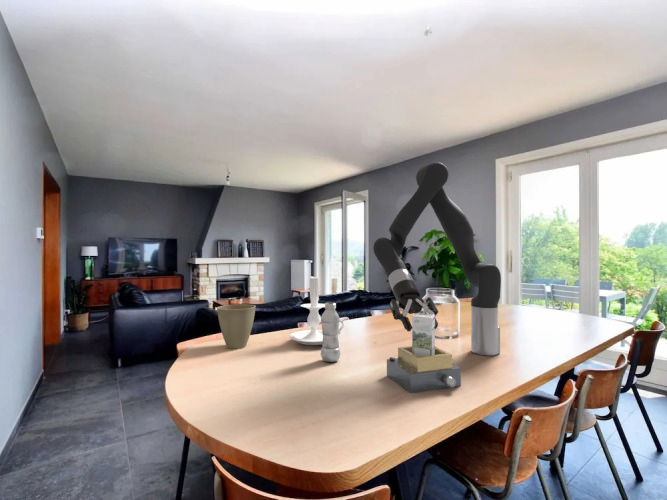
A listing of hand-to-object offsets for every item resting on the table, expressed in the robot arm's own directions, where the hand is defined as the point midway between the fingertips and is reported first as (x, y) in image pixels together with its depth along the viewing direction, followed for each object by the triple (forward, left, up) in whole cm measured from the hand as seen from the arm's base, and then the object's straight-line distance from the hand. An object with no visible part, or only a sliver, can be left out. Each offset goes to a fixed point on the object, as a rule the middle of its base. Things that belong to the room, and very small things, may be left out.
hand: (423, 328), depth 103 cm
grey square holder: (0, +1, -15) cm, 15 cm away
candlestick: (+17, -52, -15) cm, 57 cm away
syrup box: (0, 0, -10) cm, 10 cm away
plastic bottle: (+20, -26, -15) cm, 37 cm away
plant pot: (+50, -56, -15) cm, 77 cm away
